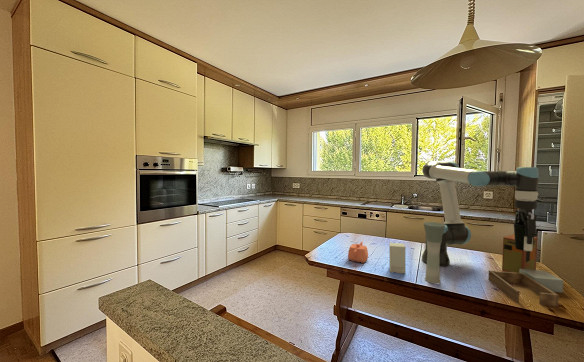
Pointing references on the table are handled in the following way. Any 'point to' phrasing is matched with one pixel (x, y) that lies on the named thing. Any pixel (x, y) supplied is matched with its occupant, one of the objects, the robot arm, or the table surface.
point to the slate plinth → (545, 279)
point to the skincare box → (397, 257)
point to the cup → (519, 236)
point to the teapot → (358, 253)
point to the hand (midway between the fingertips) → (523, 247)
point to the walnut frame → (503, 277)
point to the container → (433, 250)
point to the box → (517, 256)
